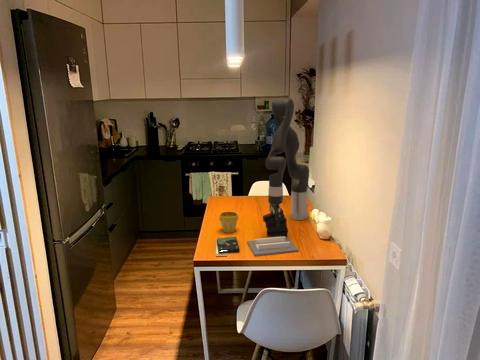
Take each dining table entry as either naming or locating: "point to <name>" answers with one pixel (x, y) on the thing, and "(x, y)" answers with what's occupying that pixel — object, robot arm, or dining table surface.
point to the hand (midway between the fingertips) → (275, 223)
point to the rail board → (272, 246)
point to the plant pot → (228, 221)
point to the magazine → (272, 228)
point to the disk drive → (228, 245)
